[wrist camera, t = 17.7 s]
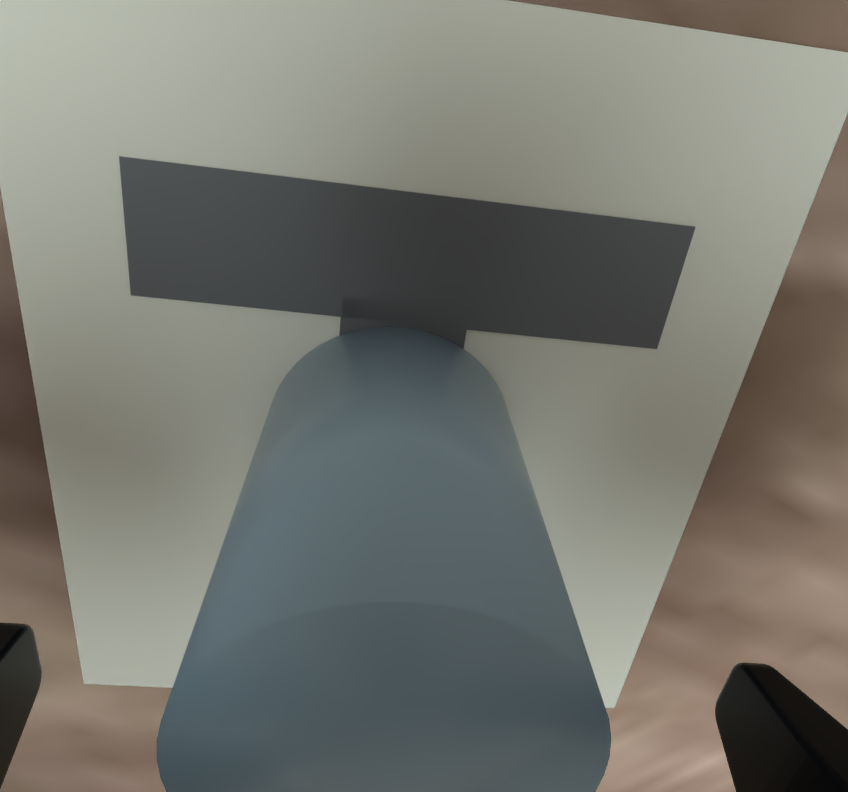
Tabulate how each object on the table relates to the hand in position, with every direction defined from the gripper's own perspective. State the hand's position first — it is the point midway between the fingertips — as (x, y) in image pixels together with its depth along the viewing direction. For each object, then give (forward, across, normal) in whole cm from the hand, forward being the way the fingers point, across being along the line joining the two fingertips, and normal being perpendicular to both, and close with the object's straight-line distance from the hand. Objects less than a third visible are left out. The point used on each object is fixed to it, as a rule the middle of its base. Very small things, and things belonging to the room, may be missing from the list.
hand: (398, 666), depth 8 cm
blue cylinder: (+6, 0, 0) cm, 6 cm away
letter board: (+6, 0, 0) cm, 6 cm away
